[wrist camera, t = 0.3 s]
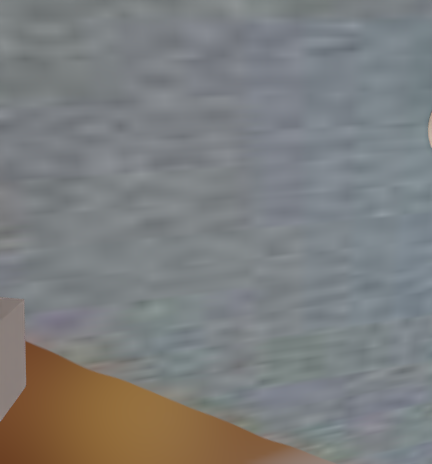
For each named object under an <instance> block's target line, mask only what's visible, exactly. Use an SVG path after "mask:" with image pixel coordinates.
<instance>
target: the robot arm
mask: <svg viewBox="0 0 432 464" xmlns="http://www.w3.org/2000/svg"><path fill="white" fill-rule="evenodd" d="M25 387H26V361H25V312H24V299H14V298H3V297H0V421H1V420H2V418H3V417H4V416H5V414H6V413H7V411H8V410H9V409H10V407H11V406H12V405H13V403H14V402H15V401H16V399H17V398H18V396H19V395H20V394H21V392H22V391H23V389H24V388H25Z"/></svg>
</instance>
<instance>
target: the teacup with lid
mask: <svg viewBox="0 0 432 464" xmlns="http://www.w3.org/2000/svg"><path fill="white" fill-rule="evenodd" d="M428 136H429V141H430V145H431V147H432V112H431V115H430V119H429V125H428Z"/></svg>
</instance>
